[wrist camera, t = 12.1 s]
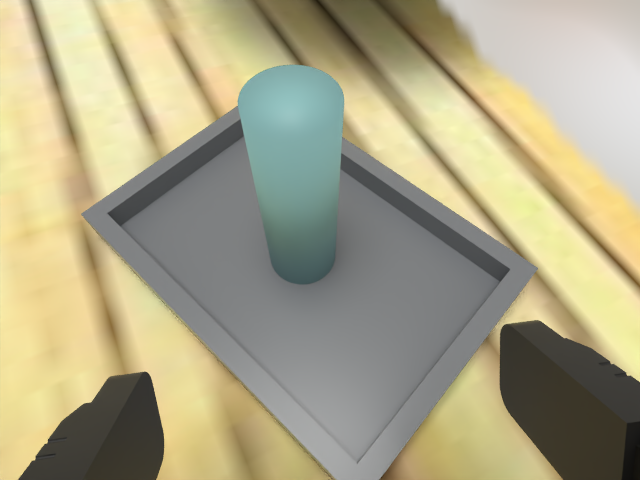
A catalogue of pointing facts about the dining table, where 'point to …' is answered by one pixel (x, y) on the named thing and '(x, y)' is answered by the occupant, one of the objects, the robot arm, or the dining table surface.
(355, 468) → the tray
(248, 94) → the dowel
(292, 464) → the dining table surface
